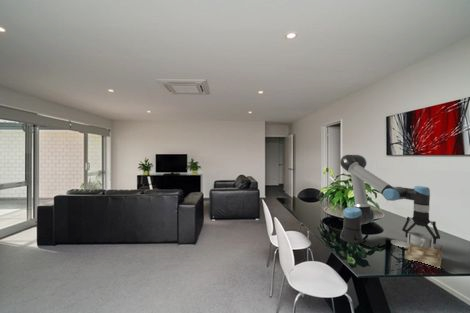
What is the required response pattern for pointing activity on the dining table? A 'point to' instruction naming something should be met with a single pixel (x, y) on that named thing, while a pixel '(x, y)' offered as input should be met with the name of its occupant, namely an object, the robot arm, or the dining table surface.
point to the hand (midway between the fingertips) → (419, 245)
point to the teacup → (420, 240)
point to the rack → (424, 255)
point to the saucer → (400, 243)
